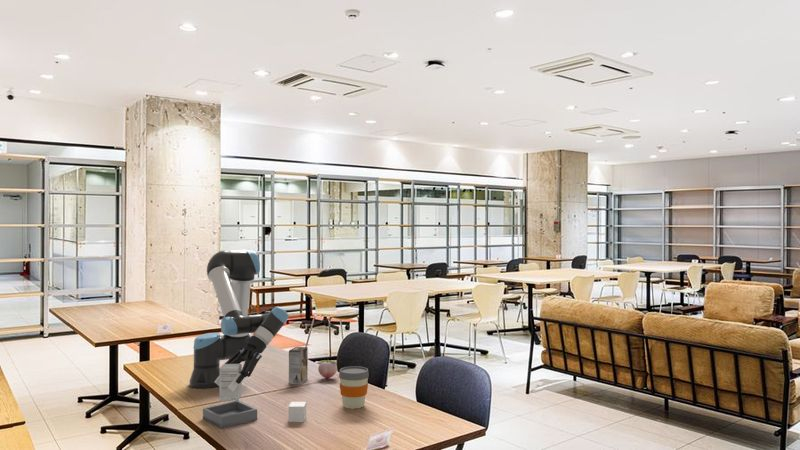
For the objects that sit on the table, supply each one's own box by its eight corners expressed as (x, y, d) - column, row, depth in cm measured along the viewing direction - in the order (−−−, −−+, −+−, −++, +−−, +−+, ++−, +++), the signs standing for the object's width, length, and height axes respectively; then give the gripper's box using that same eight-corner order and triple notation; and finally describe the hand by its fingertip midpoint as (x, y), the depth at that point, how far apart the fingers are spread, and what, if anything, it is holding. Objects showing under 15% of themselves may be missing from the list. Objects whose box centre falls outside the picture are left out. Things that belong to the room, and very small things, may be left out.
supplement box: (223, 395, 226) (223, 363, 226) (242, 395, 226) (242, 363, 226) (218, 401, 218) (218, 368, 218) (238, 400, 219) (238, 367, 219)
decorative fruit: (337, 376, 287) (337, 356, 287) (336, 380, 279) (336, 360, 279) (319, 376, 287) (319, 356, 287) (317, 380, 278) (317, 360, 278)
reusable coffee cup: (372, 402, 245) (373, 367, 245) (361, 411, 233) (361, 374, 233) (346, 399, 249) (346, 365, 249) (333, 408, 237) (334, 372, 237)
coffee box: (295, 378, 282) (295, 346, 282) (307, 379, 280) (308, 347, 280) (288, 383, 272) (288, 350, 273) (300, 384, 271) (301, 350, 271)
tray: (202, 418, 223) (202, 408, 223) (237, 410, 233) (237, 400, 233) (221, 428, 212) (221, 417, 212) (257, 419, 223) (257, 409, 223)
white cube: (304, 422, 220) (304, 406, 220) (288, 422, 220) (288, 406, 220) (306, 416, 226) (306, 401, 226) (291, 416, 226) (291, 401, 226)
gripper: (280, 350, 225) (244, 398, 214) (251, 342, 241) (215, 386, 230) (269, 338, 222) (231, 387, 210) (239, 331, 238) (203, 375, 226)
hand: (223, 386), depth 220 cm, fingers closed on supplement box, 10 cm apart
